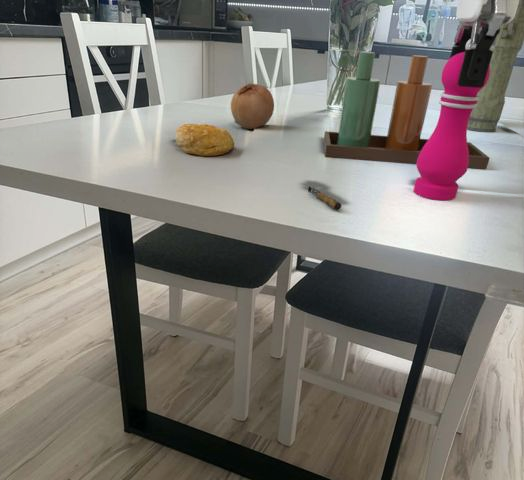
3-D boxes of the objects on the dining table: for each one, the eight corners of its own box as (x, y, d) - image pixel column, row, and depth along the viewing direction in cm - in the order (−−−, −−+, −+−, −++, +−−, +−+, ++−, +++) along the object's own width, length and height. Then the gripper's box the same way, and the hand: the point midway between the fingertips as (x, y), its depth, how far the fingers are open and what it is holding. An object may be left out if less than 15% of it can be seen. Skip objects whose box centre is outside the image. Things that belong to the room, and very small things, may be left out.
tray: (466, 156, 96) (470, 142, 94) (485, 173, 85) (489, 157, 84) (323, 145, 97) (324, 131, 95) (324, 160, 86) (326, 145, 85)
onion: (247, 146, 106) (240, 103, 97) (227, 125, 110) (218, 82, 102) (284, 127, 107) (279, 84, 99) (263, 108, 112) (257, 64, 103)
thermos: (488, 125, 128) (539, -45, 107) (502, 134, 118) (561, -51, 98) (454, 122, 128) (499, -47, 108) (465, 131, 118) (516, -53, 98)
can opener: (341, 211, 64) (342, 202, 63) (325, 211, 63) (326, 203, 63) (317, 190, 71) (318, 182, 70) (302, 191, 70) (303, 183, 70)
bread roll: (245, 154, 87) (246, 126, 84) (188, 159, 82) (187, 129, 79) (220, 142, 93) (220, 115, 91) (166, 146, 88) (165, 118, 86)
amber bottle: (413, 152, 93) (434, 56, 84) (418, 160, 88) (442, 58, 79) (382, 150, 93) (400, 53, 84) (385, 157, 88) (405, 56, 79)
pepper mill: (462, 204, 70) (511, 40, 58) (411, 198, 71) (450, 36, 59) (454, 189, 76) (497, 38, 64) (408, 184, 76) (442, 35, 65)
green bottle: (366, 148, 93) (382, 52, 84) (369, 156, 89) (387, 54, 79) (335, 146, 94) (348, 50, 85) (337, 153, 89) (351, 52, 80)
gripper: (578, -112, 47) (513, 94, 57) (516, -83, 61) (473, 79, 72) (501, -117, 47) (449, 89, 58) (457, -86, 61) (422, 75, 72)
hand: (463, 82), depth 64 cm, fingers closed on pepper mill, 6 cm apart
